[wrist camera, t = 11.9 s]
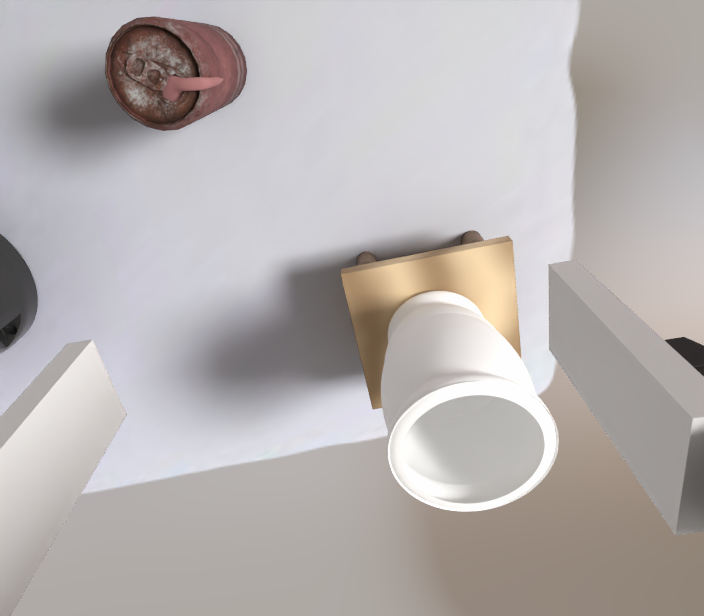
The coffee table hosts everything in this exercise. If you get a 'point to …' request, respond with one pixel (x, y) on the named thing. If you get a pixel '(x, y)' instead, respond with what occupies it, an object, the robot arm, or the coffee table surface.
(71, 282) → the coffee table surface
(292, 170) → the coffee table surface
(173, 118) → the can
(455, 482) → the jar
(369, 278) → the stool
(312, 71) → the coffee table surface
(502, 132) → the coffee table surface
